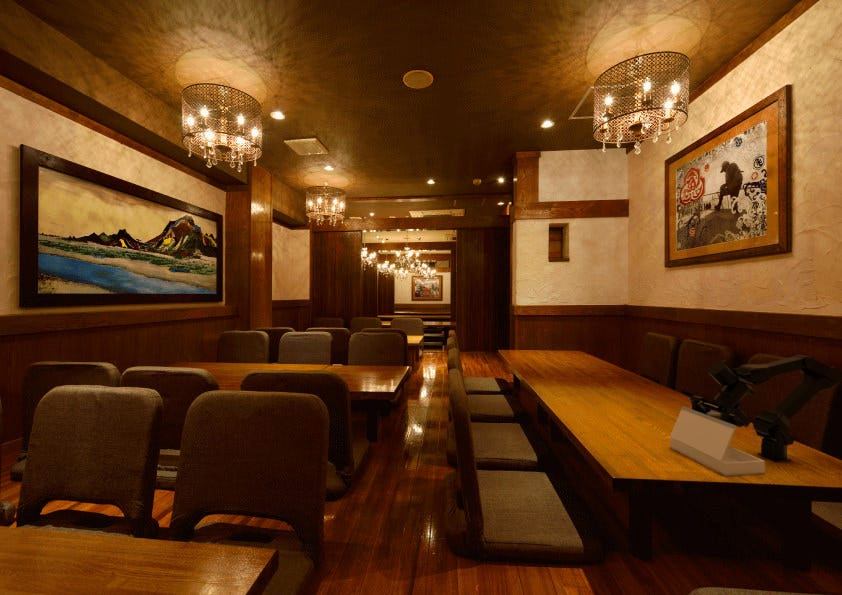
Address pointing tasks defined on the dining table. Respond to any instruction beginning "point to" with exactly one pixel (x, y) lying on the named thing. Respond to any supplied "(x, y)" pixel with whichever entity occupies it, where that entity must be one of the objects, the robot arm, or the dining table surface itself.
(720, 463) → the carton
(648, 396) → the dining table surface
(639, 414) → the dining table surface
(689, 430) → the flap
